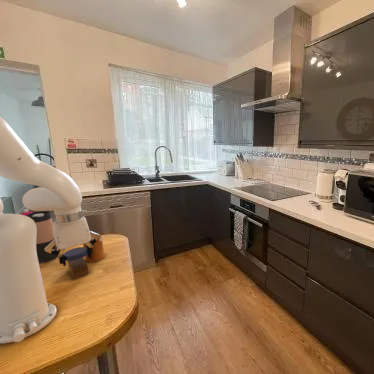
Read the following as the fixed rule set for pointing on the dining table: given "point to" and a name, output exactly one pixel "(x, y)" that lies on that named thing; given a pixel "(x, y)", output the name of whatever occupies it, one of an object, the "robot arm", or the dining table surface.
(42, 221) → the travel mug
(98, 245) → the jam jar
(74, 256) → the jar lid
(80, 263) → the stand
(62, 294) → the dining table surface
